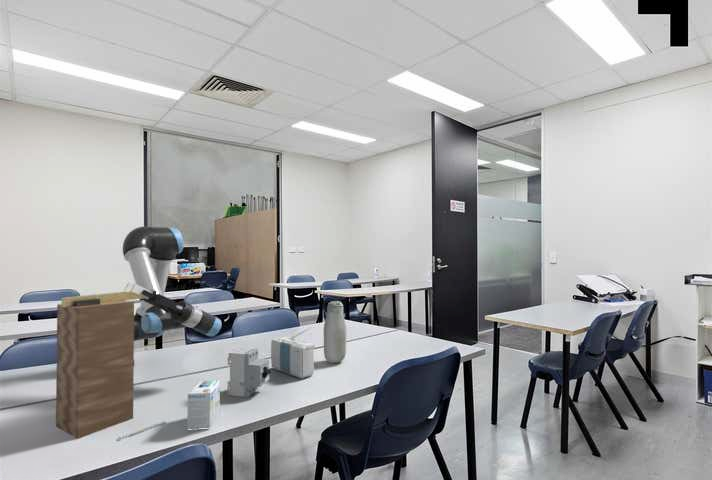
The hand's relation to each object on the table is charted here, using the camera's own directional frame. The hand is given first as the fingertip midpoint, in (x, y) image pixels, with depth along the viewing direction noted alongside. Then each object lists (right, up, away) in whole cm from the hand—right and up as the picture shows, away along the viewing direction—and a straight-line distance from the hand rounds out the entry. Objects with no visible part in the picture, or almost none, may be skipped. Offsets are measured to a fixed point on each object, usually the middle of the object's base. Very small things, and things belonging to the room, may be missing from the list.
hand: (129, 287), depth 125 cm
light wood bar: (-3, -4, -5) cm, 7 cm away
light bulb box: (+28, -40, -9) cm, 50 cm away
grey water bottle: (+64, -41, +51) cm, 92 cm away
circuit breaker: (+36, -40, +14) cm, 56 cm away
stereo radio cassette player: (+47, -41, +37) cm, 72 cm away
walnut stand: (-5, -40, -9) cm, 41 cm away
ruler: (+13, -40, -15) cm, 45 cm away
